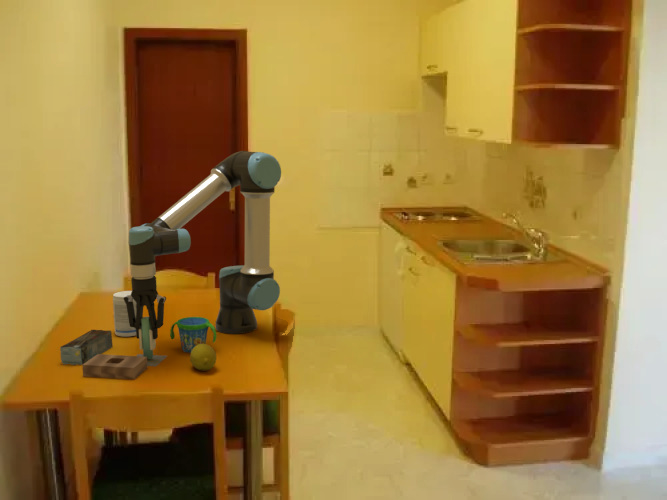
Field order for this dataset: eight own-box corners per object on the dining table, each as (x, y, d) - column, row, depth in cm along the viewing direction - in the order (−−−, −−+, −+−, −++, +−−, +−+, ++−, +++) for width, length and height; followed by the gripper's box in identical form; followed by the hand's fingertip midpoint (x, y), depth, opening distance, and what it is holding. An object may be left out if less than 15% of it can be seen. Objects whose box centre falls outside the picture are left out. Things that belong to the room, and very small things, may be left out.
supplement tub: (146, 334, 264) (144, 294, 261) (119, 339, 259) (117, 298, 256) (137, 328, 272) (135, 289, 269) (111, 332, 267) (109, 292, 264)
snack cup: (222, 347, 250) (221, 318, 248) (207, 357, 240) (206, 327, 238) (180, 343, 255) (179, 314, 253) (164, 352, 245) (163, 322, 243)
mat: (167, 357, 241) (167, 355, 240) (156, 367, 231) (156, 366, 231) (138, 355, 242) (138, 354, 242) (125, 365, 232) (125, 364, 232)
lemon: (218, 374, 225) (217, 349, 224) (191, 376, 224) (191, 350, 222) (214, 362, 236) (214, 338, 234) (189, 364, 234) (188, 340, 232)
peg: (154, 355, 238) (152, 316, 235) (150, 359, 235) (148, 319, 232) (145, 355, 238) (143, 316, 236) (142, 358, 235) (139, 319, 233)
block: (147, 369, 229) (146, 356, 228) (134, 380, 219) (133, 367, 219) (98, 366, 231) (97, 354, 231) (83, 377, 222) (82, 364, 221)
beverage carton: (59, 364, 233) (58, 344, 232) (92, 346, 252) (91, 327, 251) (82, 366, 232) (81, 346, 230) (113, 348, 250) (113, 329, 249)
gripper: (172, 274, 234) (175, 345, 238) (124, 272, 236) (129, 343, 241) (163, 279, 226) (167, 353, 231) (114, 278, 229) (119, 351, 233)
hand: (147, 348), depth 236 cm, fingers closed on peg, 3 cm apart
